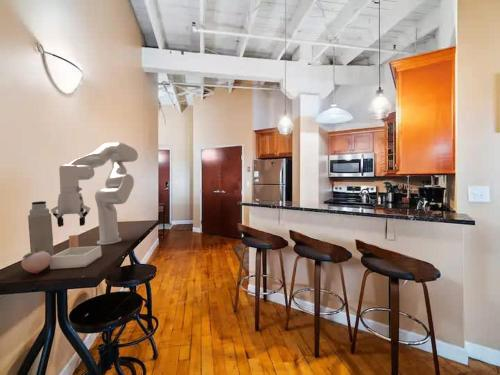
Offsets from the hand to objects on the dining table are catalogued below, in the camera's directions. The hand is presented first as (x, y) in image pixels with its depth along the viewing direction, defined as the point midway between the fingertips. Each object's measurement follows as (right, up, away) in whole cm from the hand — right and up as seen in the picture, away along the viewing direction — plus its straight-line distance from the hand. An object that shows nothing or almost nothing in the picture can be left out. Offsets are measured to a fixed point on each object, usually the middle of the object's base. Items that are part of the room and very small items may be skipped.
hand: (71, 225), depth 127 cm
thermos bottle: (-5, -16, -11) cm, 20 cm away
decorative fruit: (+2, -16, -22) cm, 27 cm away
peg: (+1, -15, +1) cm, 15 cm away
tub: (+9, -15, -9) cm, 19 cm away
